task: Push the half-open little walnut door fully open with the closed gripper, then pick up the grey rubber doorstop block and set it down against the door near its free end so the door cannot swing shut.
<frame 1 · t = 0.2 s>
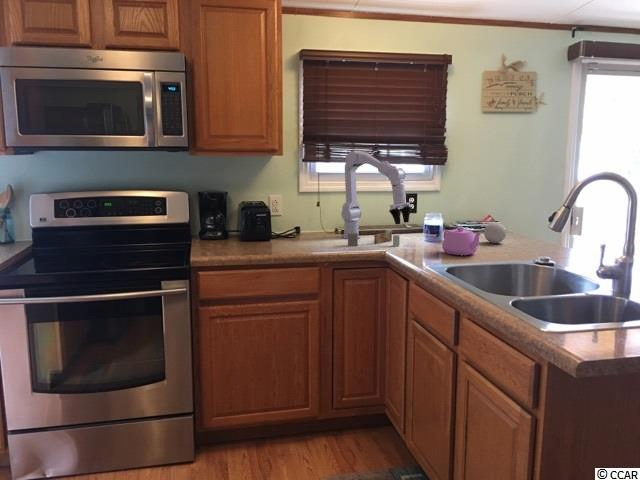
hand: (402, 223, 239), 10 cm above the countertop, fingers open, 7 cm apart
hinge post: (388, 240, 253), on the countertop
door: (383, 237, 248), point 2 cm above the countertop, hinge at 55.0°
ball: (494, 243, 244), on the countertop
stop wall: (396, 245, 239), on the countertop
teapot: (461, 254, 220), on the countertop
block: (352, 245, 242), on the countertop
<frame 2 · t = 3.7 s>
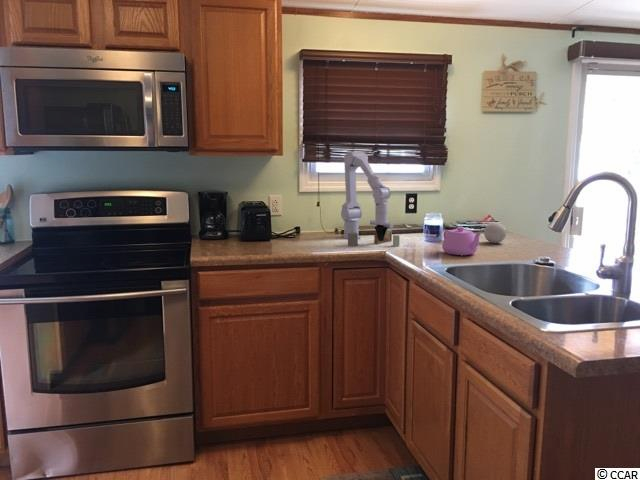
hand: (381, 241, 244), 1 cm above the countertop, fingers closed
door: (383, 237, 248), point 2 cm above the countertop, hinge at 55.2°, touching gripper
everything else where it was.
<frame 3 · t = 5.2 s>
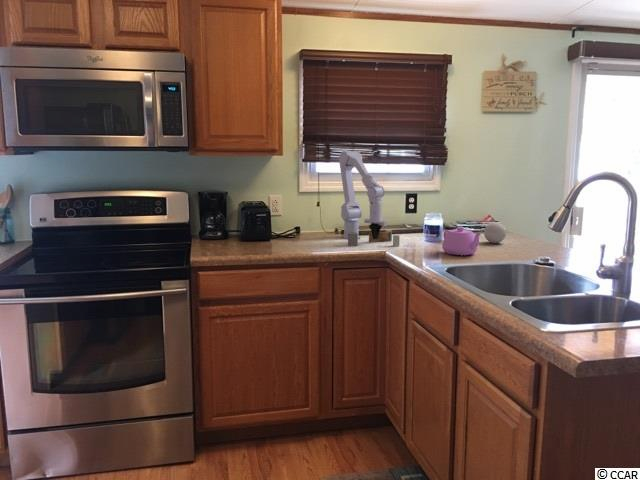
hand: (375, 239, 248), 2 cm above the countertop, fingers closed
door: (380, 237, 250), point 2 cm above the countertop, hinge at 85.7°, touching gripper
everything else where it was.
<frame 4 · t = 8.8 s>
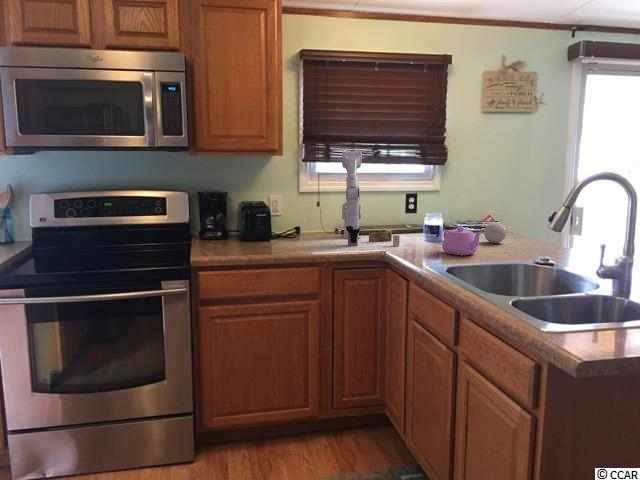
hand: (352, 242, 241), 2 cm above the countertop, fingers closed on block, 4 cm apart
door: (380, 237, 250), point 2 cm above the countertop, hinge at 86.0°
block: (352, 245, 242), on the countertop, touching gripper
everything else where it was.
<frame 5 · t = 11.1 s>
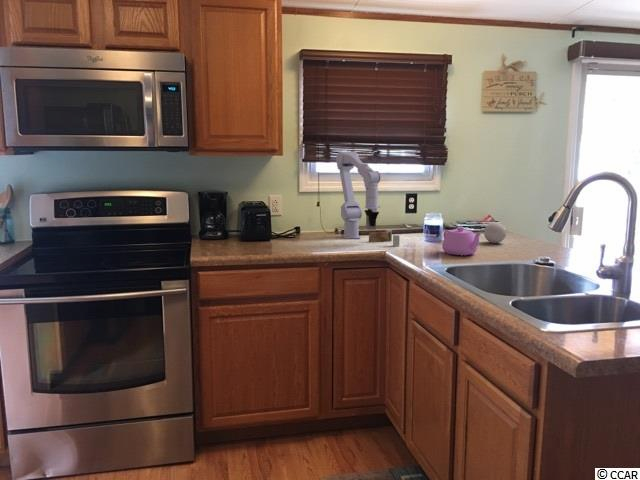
hand: (371, 225, 244), 9 cm above the countertop, fingers closed on block, 4 cm apart
block: (370, 229, 244), point 7 cm above the countertop, touching gripper
everything else where it was.
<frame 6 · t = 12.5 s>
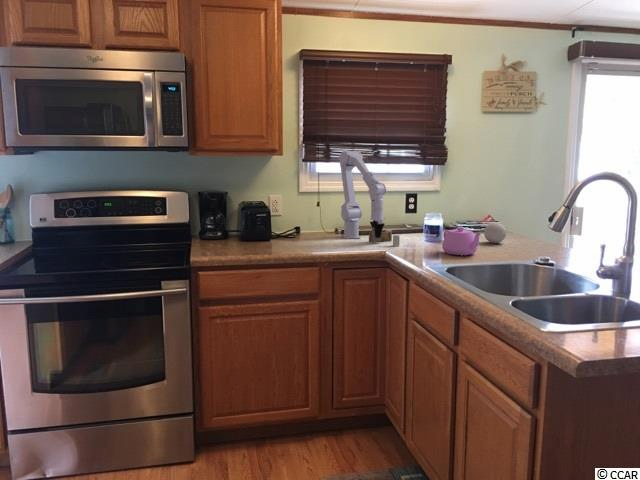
hand: (377, 236, 246), 3 cm above the countertop, fingers closed on block, 4 cm apart
door: (380, 237, 250), point 2 cm above the countertop, hinge at 86.0°, touching gripper
block: (376, 240, 246), point 1 cm above the countertop, touching gripper
everything else where it was.
when the fingers open (3 cm above the countertop, at t = 13.2 s): block drops 1 cm, on the countertop.
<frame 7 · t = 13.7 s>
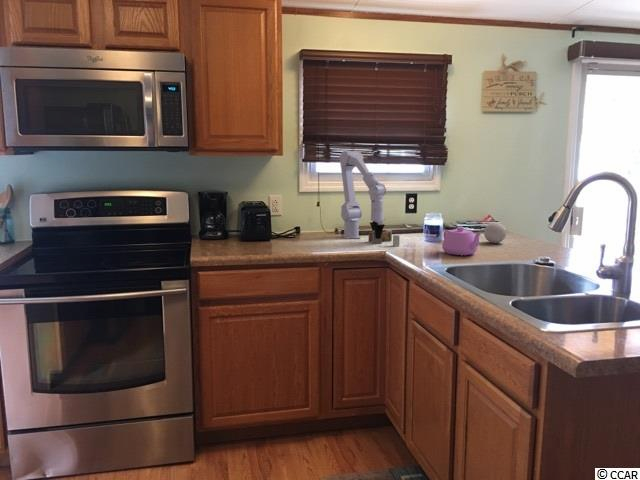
hand: (376, 237, 246), 3 cm above the countertop, fingers open, 5 cm apart
door: (379, 236, 251), point 2 cm above the countertop, hinge at 89.7°, touching gripper
block: (376, 243, 246), on the countertop
everything else where it was.
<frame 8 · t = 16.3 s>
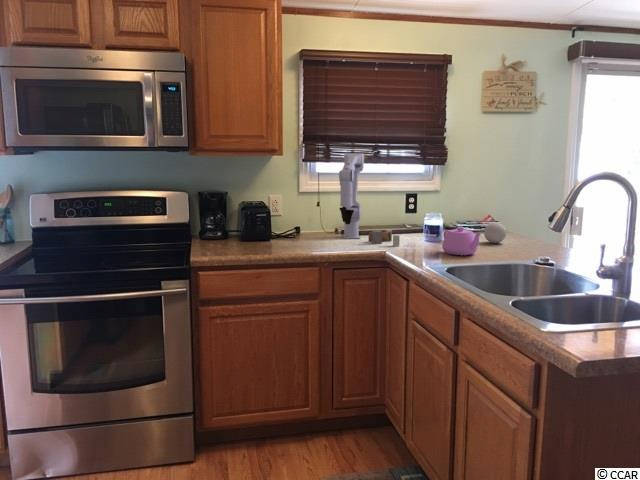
hand: (346, 223, 245), 10 cm above the countertop, fingers open, 7 cm apart
door: (379, 236, 251), point 2 cm above the countertop, hinge at 90.4°
everything else where it was.
at the end: door at +90° (first picture: +55°); block inside the target area (0.1 cm from its centre), on the countertop; block tilted 0° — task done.
